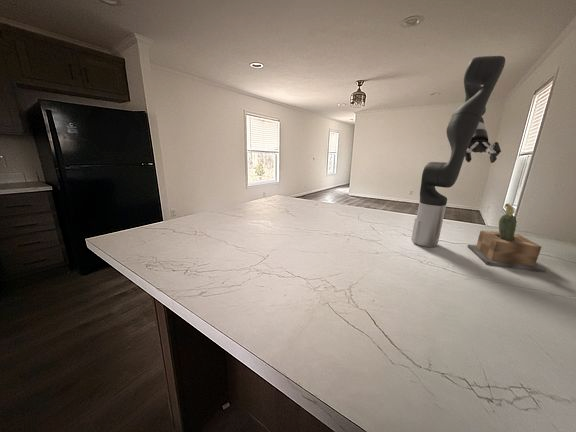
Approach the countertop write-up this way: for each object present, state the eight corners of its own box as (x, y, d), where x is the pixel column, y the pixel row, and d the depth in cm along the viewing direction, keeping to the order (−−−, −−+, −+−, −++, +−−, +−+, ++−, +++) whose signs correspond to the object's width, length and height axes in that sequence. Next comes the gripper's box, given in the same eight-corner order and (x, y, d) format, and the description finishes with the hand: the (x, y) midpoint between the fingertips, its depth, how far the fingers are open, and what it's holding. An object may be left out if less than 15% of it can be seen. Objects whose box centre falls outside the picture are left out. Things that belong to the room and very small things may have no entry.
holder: (486, 264, 79) (492, 242, 76) (467, 246, 93) (472, 228, 91) (545, 272, 74) (554, 250, 72) (516, 252, 89) (522, 233, 86)
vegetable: (513, 258, 81) (523, 206, 74) (498, 259, 82) (507, 207, 75) (505, 251, 85) (513, 201, 78) (491, 252, 86) (498, 203, 79)
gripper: (461, 128, 104) (465, 154, 97) (499, 128, 100) (506, 155, 93) (454, 141, 111) (458, 166, 103) (490, 141, 106) (496, 167, 99)
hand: (481, 161), depth 98 cm, fingers open, 8 cm apart
